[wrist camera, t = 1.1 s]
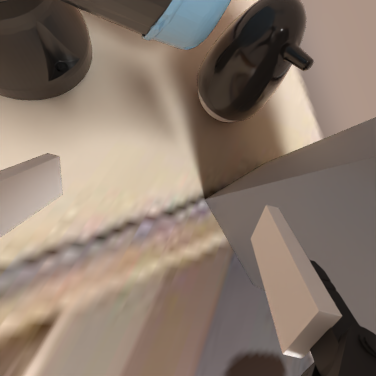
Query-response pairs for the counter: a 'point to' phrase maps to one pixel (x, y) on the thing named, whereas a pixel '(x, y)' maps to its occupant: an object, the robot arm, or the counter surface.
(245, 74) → the pump dispenser
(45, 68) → the robot arm
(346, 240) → the grey tall block
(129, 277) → the counter surface
